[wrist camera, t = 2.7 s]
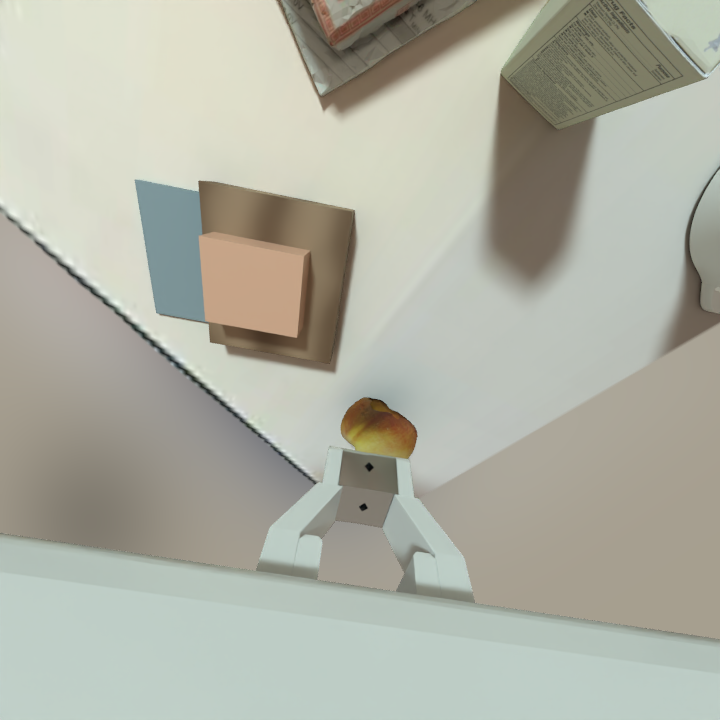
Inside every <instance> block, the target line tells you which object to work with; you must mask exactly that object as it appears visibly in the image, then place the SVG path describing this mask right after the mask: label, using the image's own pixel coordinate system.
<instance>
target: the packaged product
mask: <svg viewBox="0 0 720 720" xmlns="http://www.w3.org/2000/svg"><path fill="white" fill-rule="evenodd" d="M280 1H281V4H282V6H283V9H284V12H285V14H286V17H287V19H288V22H289V24H290V27H291V29H292V32H293V34H294V36H295V39H296V41H297V44H298V46H299V49H300V51H301V54H302V56H303V58H304V61H305V63H306V65H307V68H308V70H309V72H310V74H311V76H312V78H313V80H314V83H315V85H316V87H317V89H318V92H319V94H320V96H324V95H326V94H327V93H329V92H331V91H332V90H334V89H336V88H338V87H339V86H341V85H343V84H345V83H346V82H348V81H350V80H351V79H353V78H355V77H356V76H358V75H360V74H361V73H363V72H364V71H366V70H368V69H369V68H371V67H372V66H374V65H375V64H376V63H378V62H379V61H380V60H381V59H383V58H384V57H385V56H387V55H388V54H390V53H392V52H393V51H395V50H397V49H398V48H400V47H401V46H403V45H405V44H406V43H408V42H410V41H411V40H413V39H415V38H416V37H418V36H420V35H421V34H423V33H424V32H426V31H428V30H429V29H431V28H432V27H434V26H435V25H437V24H439V23H441V22H443V21H445V20H447V19H449V18H451V17H453V16H454V15H456V14H458V13H459V12H461V11H462V10H463V9H464V8H465V7H468V6H470V5H471V4H473V3H474V2H475V1H477V0H280Z"/></svg>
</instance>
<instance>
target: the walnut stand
mask: <svg viewBox="0 0 720 720" xmlns="http://www.w3.org/2000/svg"><path fill="white" fill-rule="evenodd" d="M198 182H199V196H200V210H201V223H202V235H203V234H207V233H211V232H218V233H223V234H228V235H233V236H238V237H243V238H248V239H254V240H259V241H264V242H269V243H274V244H279V245H284V246H290V247H295V248H300V249H305V250H310V259H309V270H308V280H307V291H306V302H305V313H304V323H303V328H302V330H301V332H300V333H299V335H298V337H297V338H295V337H289V336H284V335H279V334H273V333H268V332H262V331H257V330H251V329H246V328H240V327H235V326H229V325H224V324H218V323H213V322H209V334H210V342H211V343H217V344H222V345H228V346H233V347H239V348H245V349H250V350H256V351H261V352H267V353H272V354H278V355H284V356H289V357H295V358H300V359H306V360H312V361H317V362H323V363H328V364H330V361H331V357H332V354H333V348H334V342H335V335H336V329H337V322H338V316H339V309H340V302H341V296H342V289H343V283H344V276H345V270H346V263H347V257H348V250H349V243H350V237H351V230H352V224H353V217H354V211H355V210H352V209H347V208H342V207H337V206H332V205H327V204H322V203H317V202H312V201H307V200H302V199H297V198H292V197H287V196H282V195H277V194H272V193H267V192H262V191H257V190H252V189H247V188H243V187H238V186H233V185H228V184H223V183H218V182H210V181H198Z"/></svg>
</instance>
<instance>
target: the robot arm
mask: <svg viewBox="0 0 720 720" xmlns="http://www.w3.org/2000/svg"><path fill="white" fill-rule="evenodd" d="M690 253H691V257H692V261H693V263H694V265H695V267H696V269H697V271H698V273H699V275H700V277H701V280H702V287H701V297H700V302H701V307H702V308H703V309H704V310H705V311H709V312H713V313H718V314H720V169H719V170H718V172H717V173H716V175H715V176H714V177H713V179H712V180H711V182H710V184H709V185H708V187H707V189H706V191H705V192H704V194H703V196H702V198H701V200H700V202H699V205H698V207H697V210H696V212H695V215H694V218H693V222H692V226H691V232H690ZM335 520H336V521H344V522H351V523H359V524H365V525H370V526H375V527H381V528H382V530H383V532H384V534H385V536H386V538H387V540H388V542H389V544H390V545H391V548H392V550H393V552H394V554H395V556H396V557H397V560H398V562H399V564H400V565H401V567H402V569H403V571H404V573H405V574H404V576H403V578H402V580H401V582H400V584H399V586H398V588H397V590H396V591H390V590H383V589H376V588H369V587H362V586H355V585H349V584H342V583H335V582H327V581H321V580H317V577H318V570H319V563H320V555H321V549H322V540H321V539H322V538H323V537H324V535H325V534H326V533H327V531H328V530H329V529H330V528H331V526H332V525H333V523H334V522H335ZM0 720H720V639H715V638H708V637H701V636H695V635H688V634H681V633H674V632H667V631H661V630H654V629H647V628H640V627H634V626H627V625H620V624H613V623H607V622H600V621H593V620H586V619H579V618H573V617H566V616H559V615H552V614H545V613H538V612H532V611H525V610H518V609H511V608H505V607H498V606H490V605H484V604H477V603H475V601H474V597H473V592H472V588H471V584H470V580H469V576H468V572H467V567H466V563H465V559H464V557H463V556H462V554H461V553H460V552H459V551H458V549H457V548H456V546H455V545H454V544H453V543H452V541H451V540H450V539H449V537H448V536H447V535H446V533H445V532H444V531H443V530H442V528H441V527H440V526H439V524H438V523H437V522H436V520H435V519H434V518H433V516H432V515H431V514H430V513H429V511H428V510H427V509H426V507H425V506H424V505H423V503H422V502H421V501H420V500H419V498H415V497H414V489H413V482H412V474H411V466H410V461H409V459H404V458H398V457H392V456H385V455H379V454H373V453H366V452H360V451H355V450H350V449H345V448H338V447H333V446H329V449H328V454H327V459H326V465H325V470H324V475H323V481H322V483H321V482H318V483H317V484H315V485H314V486H313V487H312V488H311V489H310V490H309V491H308V492H307V493H306V494H305V495H304V496H303V497H302V498H301V499H300V500H298V502H296V503H295V504H294V505H293V506H292V507H291V508H290V509H289V510H288V511H287V512H286V513H285V514H284V515H283V516H282V517H280V518H279V519H278V520H277V521H276V522H275V523H274V524H273V525H272V526H271V527H270V529H269V532H268V535H267V538H266V541H265V544H264V547H263V550H262V553H261V556H260V560H259V563H258V566H257V569H256V571H253V570H247V569H240V568H233V567H226V566H220V565H213V564H206V563H199V562H193V561H186V560H178V559H172V558H166V557H159V556H152V555H145V554H139V553H132V552H125V551H118V550H111V549H105V548H98V547H92V546H85V545H78V544H71V543H65V542H57V541H51V540H44V539H38V538H31V537H23V536H17V535H10V534H4V533H0Z"/></svg>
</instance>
